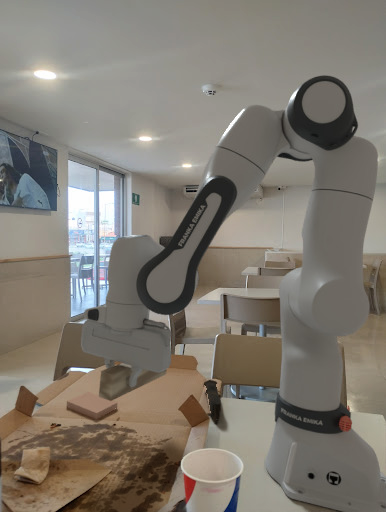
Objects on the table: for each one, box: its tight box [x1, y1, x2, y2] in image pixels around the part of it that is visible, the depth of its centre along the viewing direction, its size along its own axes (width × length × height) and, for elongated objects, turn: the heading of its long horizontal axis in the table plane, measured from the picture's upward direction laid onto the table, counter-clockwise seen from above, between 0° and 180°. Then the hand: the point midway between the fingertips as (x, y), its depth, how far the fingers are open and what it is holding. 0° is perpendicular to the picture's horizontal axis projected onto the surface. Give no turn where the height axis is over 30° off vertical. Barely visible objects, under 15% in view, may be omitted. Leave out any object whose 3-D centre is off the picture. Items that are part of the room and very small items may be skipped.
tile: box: [66, 391, 118, 420], centre depth 91 cm, size 2×7×10 cm
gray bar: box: [98, 363, 168, 401], centre depth 79 cm, size 3×20×5 cm, turn 153°
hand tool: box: [203, 379, 222, 425], centre depth 96 cm, size 19×4×5 cm, turn 179°
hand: (121, 383), depth 75 cm, fingers closed on gray bar, 3 cm apart
